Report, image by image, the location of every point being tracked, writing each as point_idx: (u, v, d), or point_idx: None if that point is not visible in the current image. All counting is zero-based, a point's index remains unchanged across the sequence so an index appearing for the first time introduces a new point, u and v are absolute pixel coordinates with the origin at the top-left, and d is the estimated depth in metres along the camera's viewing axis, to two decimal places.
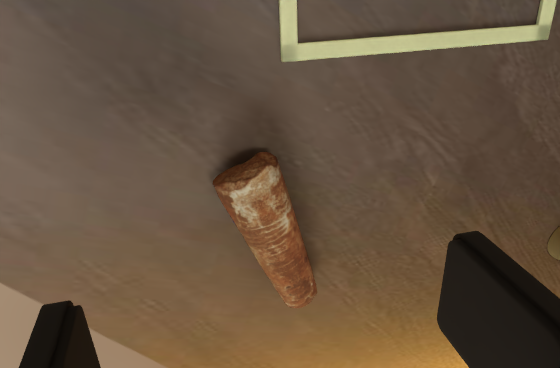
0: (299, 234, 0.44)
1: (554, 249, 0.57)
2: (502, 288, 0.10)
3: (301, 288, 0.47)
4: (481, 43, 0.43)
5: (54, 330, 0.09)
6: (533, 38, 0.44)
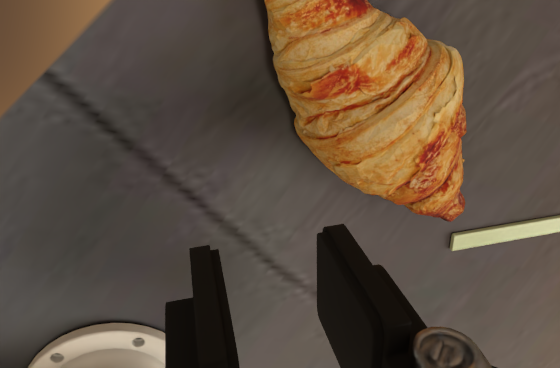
0: None
1: None
2: (343, 277, 0.10)
3: None
4: None
5: (208, 265, 0.10)
6: None
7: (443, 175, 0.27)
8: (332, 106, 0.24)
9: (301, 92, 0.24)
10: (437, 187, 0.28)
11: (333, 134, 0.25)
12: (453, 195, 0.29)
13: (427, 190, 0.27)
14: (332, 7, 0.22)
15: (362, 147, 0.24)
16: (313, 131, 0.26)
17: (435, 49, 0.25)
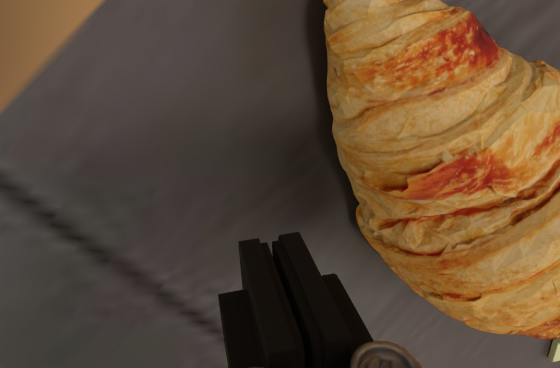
0: None
1: None
2: (290, 288, 0.10)
3: None
4: None
5: (260, 258, 0.11)
6: None
7: None
8: (435, 208, 0.15)
9: (385, 188, 0.15)
10: None
11: (434, 251, 0.15)
12: None
13: None
14: (449, 52, 0.13)
15: (486, 277, 0.15)
16: (396, 240, 0.16)
17: None
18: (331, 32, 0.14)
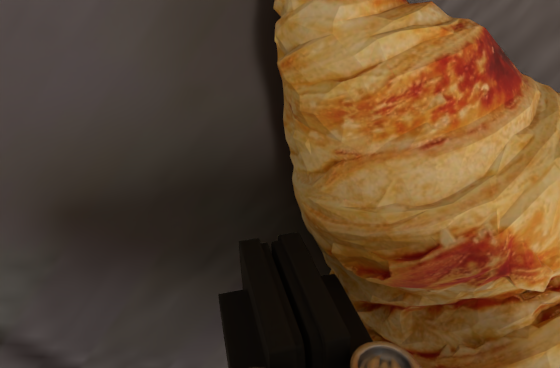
0: None
1: None
2: (290, 288, 0.10)
3: None
4: None
5: (261, 258, 0.11)
6: None
7: None
8: (430, 298, 0.11)
9: (360, 269, 0.10)
10: None
11: (427, 351, 0.11)
12: None
13: None
14: (452, 88, 0.09)
15: None
16: (377, 329, 0.12)
17: None
18: (284, 53, 0.10)
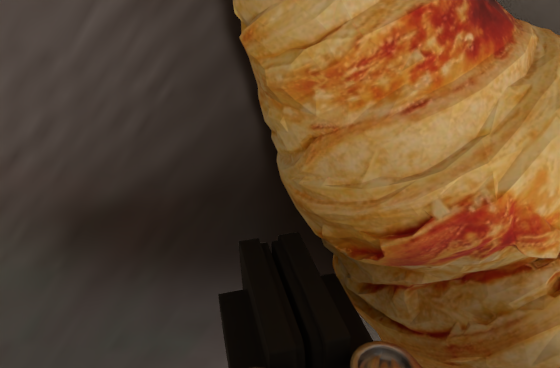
0: None
1: None
2: (290, 288, 0.10)
3: None
4: None
5: (261, 258, 0.11)
6: None
7: None
8: (433, 274, 0.10)
9: (354, 250, 0.10)
10: None
11: (436, 330, 0.10)
12: None
13: None
14: (430, 42, 0.08)
15: None
16: (383, 311, 0.11)
17: None
18: (247, 25, 0.09)
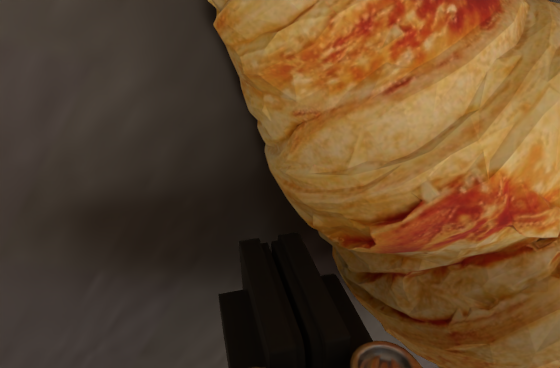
0: None
1: None
2: (290, 288, 0.10)
3: None
4: None
5: (261, 258, 0.11)
6: None
7: None
8: (431, 259, 0.10)
9: (346, 239, 0.09)
10: None
11: (438, 318, 0.10)
12: None
13: None
14: (410, 15, 0.07)
15: (523, 358, 0.09)
16: (383, 300, 0.11)
17: None
18: None
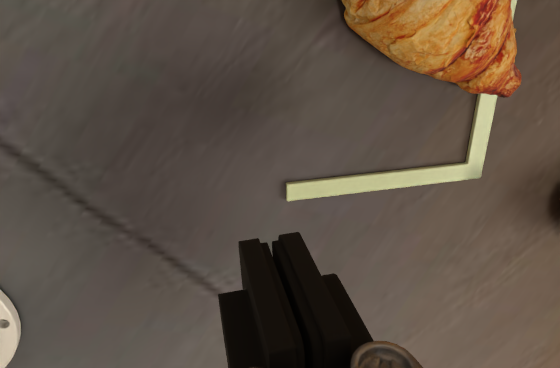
0: None
1: None
2: (290, 288, 0.10)
3: None
4: None
5: (260, 258, 0.11)
6: None
7: (497, 42, 0.28)
8: None
9: None
10: (492, 58, 0.29)
11: (386, 11, 0.26)
12: (509, 65, 0.30)
13: (483, 59, 0.28)
14: None
15: (415, 16, 0.25)
16: (365, 14, 0.27)
17: None
18: None
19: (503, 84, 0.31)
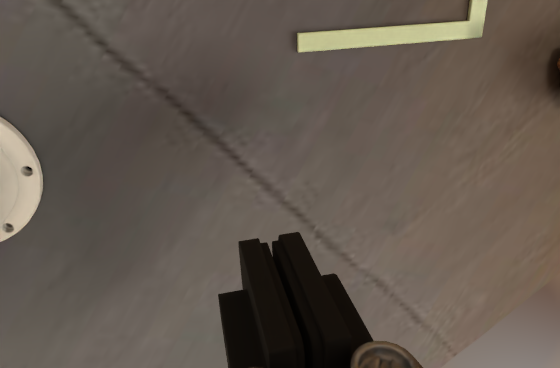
0: None
1: None
2: (290, 288, 0.10)
3: None
4: None
5: (260, 258, 0.11)
6: None
7: None
8: None
9: None
10: None
11: None
12: None
13: None
14: None
15: None
16: None
17: None
18: None
19: None
